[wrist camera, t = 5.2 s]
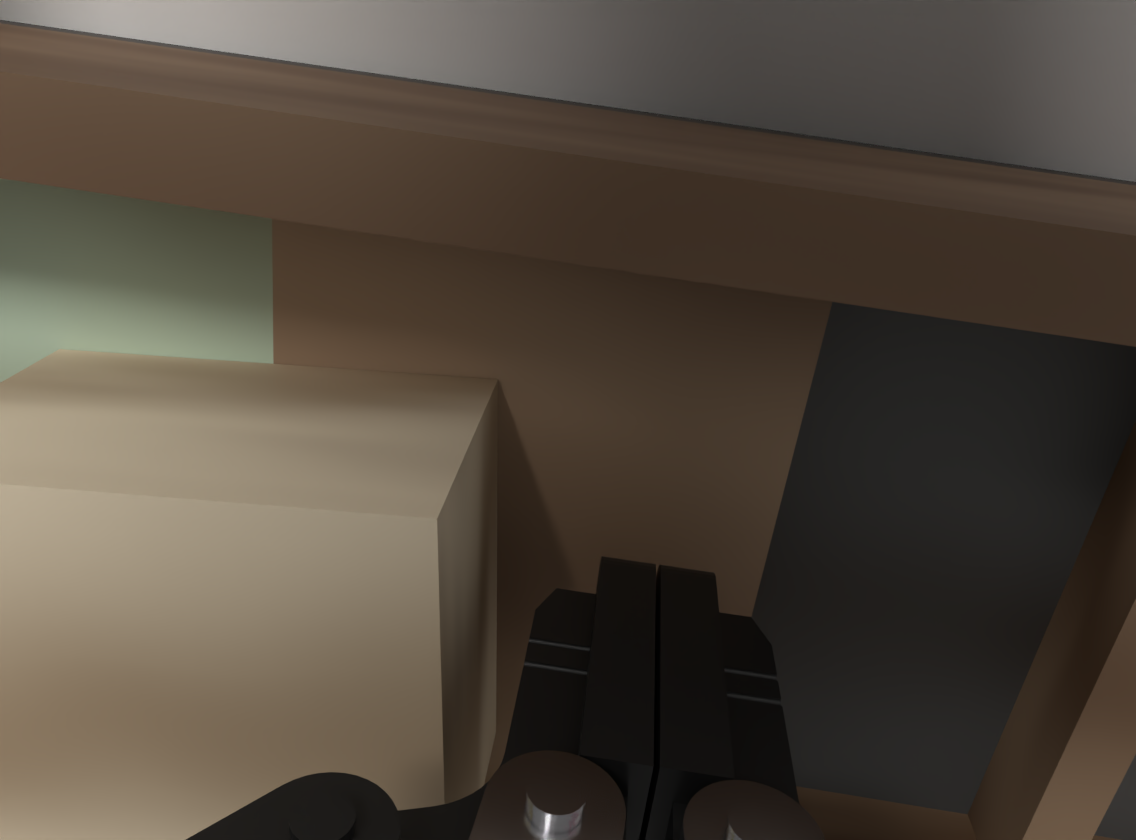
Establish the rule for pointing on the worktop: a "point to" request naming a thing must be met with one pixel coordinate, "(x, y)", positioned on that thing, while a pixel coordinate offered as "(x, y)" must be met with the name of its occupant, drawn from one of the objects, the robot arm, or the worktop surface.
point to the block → (239, 588)
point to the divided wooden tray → (667, 377)
